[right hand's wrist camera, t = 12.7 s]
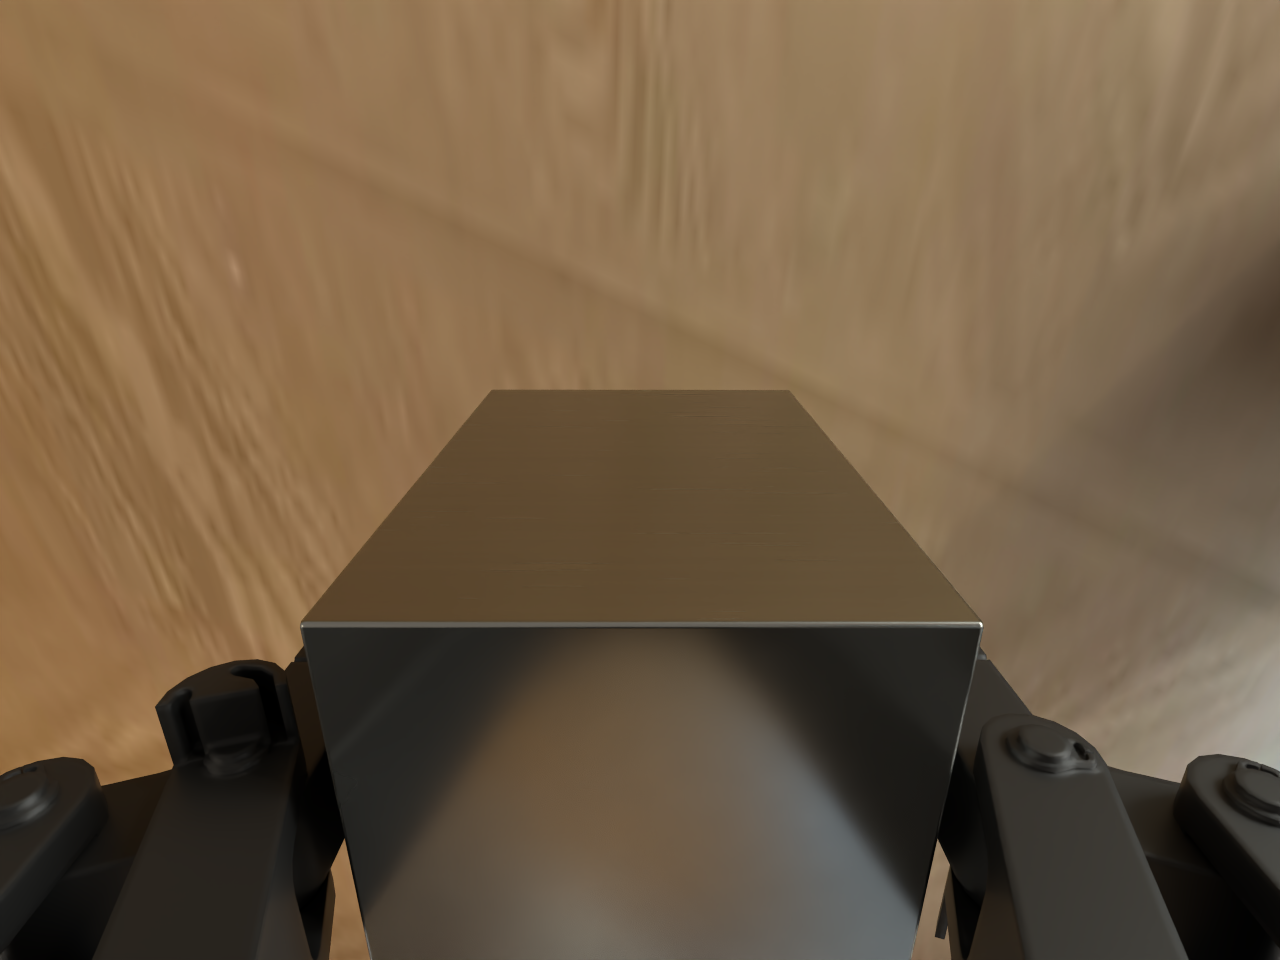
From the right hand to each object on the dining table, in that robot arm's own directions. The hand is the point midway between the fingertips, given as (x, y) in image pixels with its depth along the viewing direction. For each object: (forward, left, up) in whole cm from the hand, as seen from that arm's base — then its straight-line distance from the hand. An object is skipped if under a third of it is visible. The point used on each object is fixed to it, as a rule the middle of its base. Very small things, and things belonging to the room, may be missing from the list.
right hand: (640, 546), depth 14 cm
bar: (-2, +9, -1) cm, 10 cm away
